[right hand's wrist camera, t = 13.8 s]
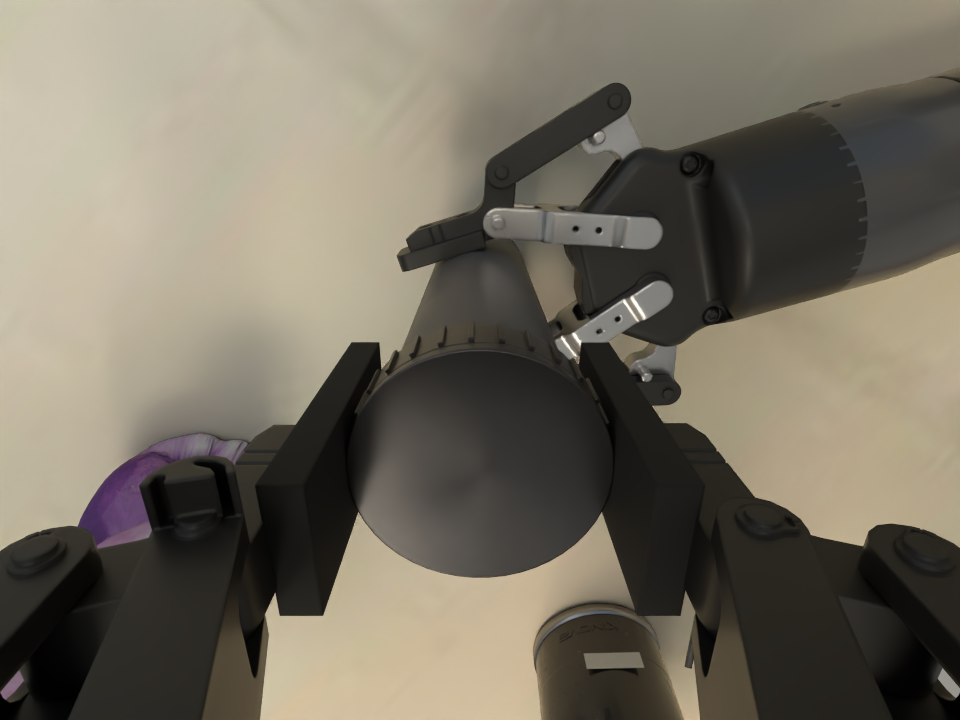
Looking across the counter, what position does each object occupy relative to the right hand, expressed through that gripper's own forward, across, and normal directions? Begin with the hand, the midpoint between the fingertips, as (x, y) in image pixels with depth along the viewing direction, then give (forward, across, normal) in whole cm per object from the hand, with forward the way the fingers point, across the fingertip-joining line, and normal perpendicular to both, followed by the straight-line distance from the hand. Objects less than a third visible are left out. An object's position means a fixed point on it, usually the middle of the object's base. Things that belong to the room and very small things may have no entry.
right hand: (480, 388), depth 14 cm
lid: (-4, 0, 0) cm, 4 cm away
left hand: (+9, -2, -1) cm, 9 cm away
